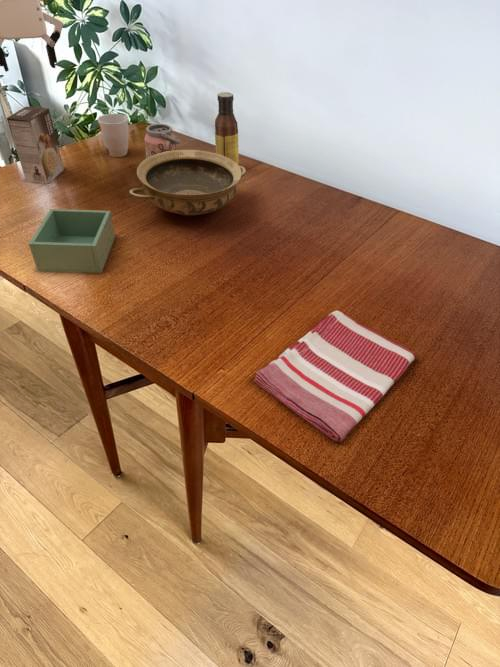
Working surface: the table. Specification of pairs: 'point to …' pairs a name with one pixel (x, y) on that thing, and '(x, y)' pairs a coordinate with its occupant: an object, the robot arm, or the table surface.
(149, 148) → the pink jar
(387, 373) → the dish towel
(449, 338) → the table surface
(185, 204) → the ceramic bowl
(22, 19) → the robot arm
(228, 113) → the sauce bottle
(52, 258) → the bin
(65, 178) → the table surface
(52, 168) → the coffee box
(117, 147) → the cup
